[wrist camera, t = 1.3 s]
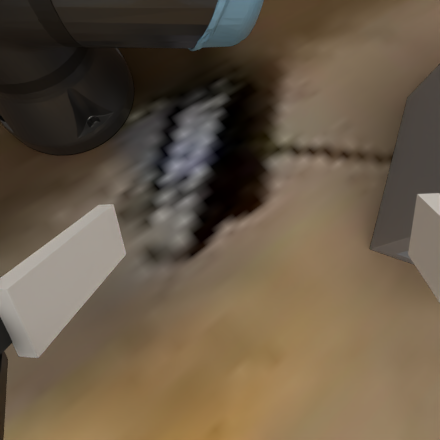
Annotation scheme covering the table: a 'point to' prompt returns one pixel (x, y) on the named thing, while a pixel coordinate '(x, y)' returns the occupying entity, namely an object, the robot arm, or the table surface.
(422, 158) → the shelf
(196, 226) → the table surface
